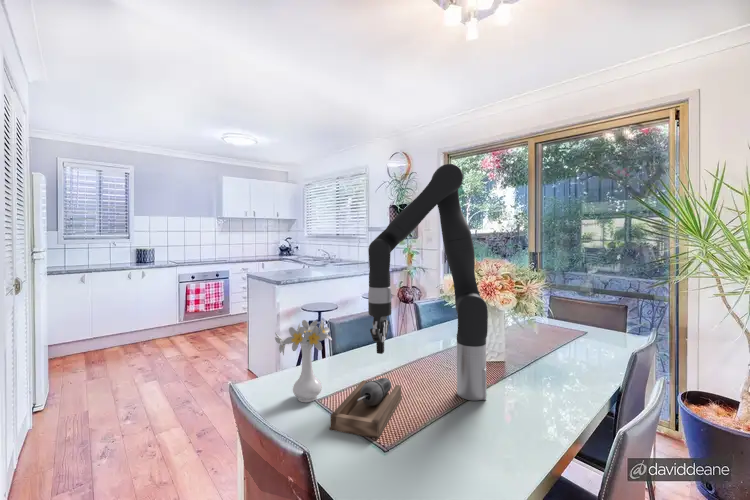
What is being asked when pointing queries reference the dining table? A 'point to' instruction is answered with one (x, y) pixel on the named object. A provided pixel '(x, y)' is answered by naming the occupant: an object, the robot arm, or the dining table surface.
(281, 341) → the flower vase
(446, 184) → the robot arm
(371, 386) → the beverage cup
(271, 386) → the dining table surface
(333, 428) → the u rest
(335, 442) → the dining table surface
